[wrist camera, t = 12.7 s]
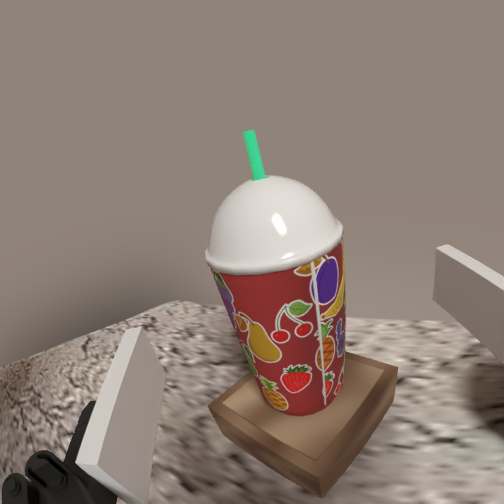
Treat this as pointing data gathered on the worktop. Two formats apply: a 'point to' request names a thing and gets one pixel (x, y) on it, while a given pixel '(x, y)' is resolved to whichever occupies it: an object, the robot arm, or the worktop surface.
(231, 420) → the brown flat block
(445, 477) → the worktop surface
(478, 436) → the worktop surface
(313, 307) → the smoothie
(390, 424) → the worktop surface
